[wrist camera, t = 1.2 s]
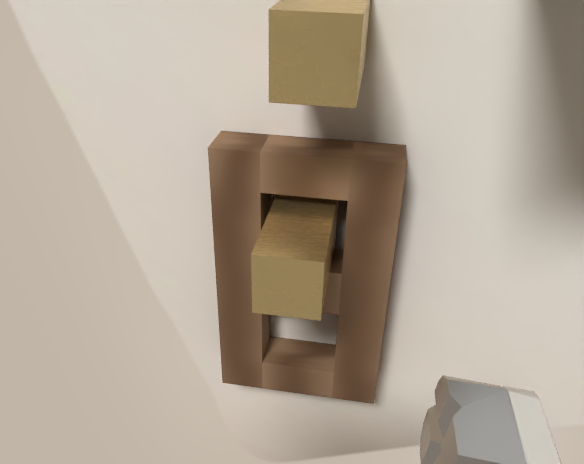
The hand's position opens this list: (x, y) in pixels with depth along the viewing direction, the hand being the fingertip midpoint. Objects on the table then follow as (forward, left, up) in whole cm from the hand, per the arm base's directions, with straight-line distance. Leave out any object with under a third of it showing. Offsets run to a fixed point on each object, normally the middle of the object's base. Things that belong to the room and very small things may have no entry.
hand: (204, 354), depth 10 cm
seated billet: (+1, +11, -26) cm, 29 cm away
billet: (0, -1, -26) cm, 26 cm away
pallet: (+1, +16, -26) cm, 31 cm away
